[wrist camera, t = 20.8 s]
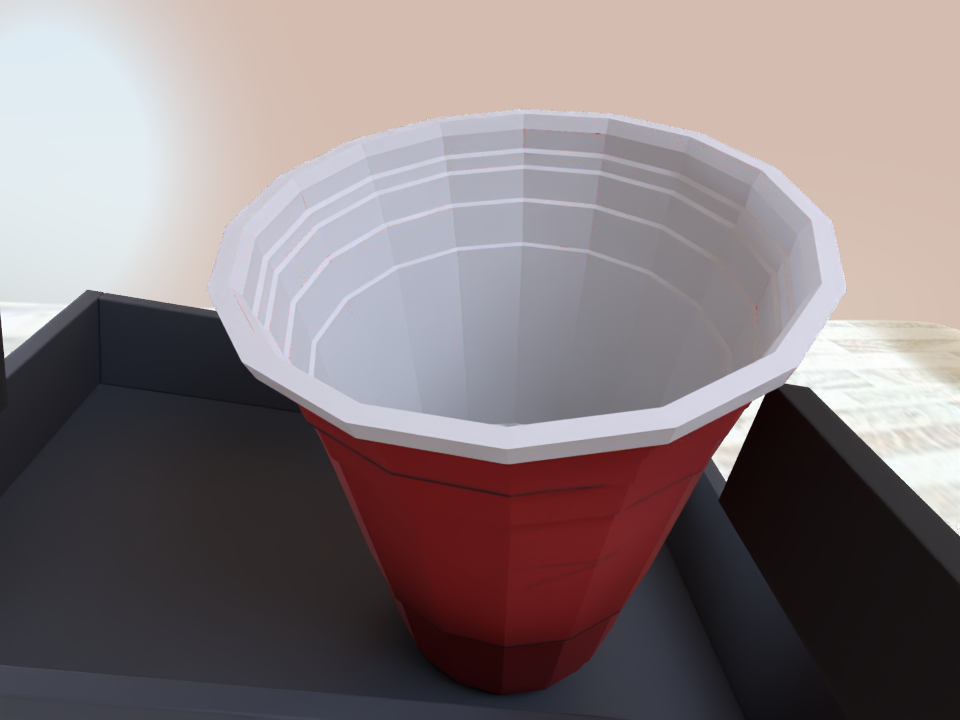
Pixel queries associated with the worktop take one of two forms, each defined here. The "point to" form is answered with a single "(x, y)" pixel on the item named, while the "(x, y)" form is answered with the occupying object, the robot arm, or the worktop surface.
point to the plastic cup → (524, 354)
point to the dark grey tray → (292, 561)
